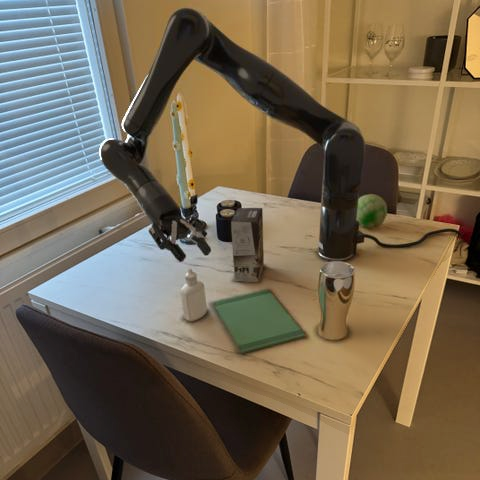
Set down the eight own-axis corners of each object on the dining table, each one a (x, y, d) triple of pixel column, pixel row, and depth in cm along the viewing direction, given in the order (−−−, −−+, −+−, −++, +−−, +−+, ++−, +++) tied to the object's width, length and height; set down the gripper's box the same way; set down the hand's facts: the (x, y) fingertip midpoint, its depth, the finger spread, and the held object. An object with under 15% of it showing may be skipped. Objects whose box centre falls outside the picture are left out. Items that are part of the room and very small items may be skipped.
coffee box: (259, 282, 115) (257, 222, 106) (233, 281, 116) (229, 221, 107) (264, 265, 122) (263, 207, 113) (241, 264, 123) (237, 206, 114)
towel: (268, 290, 112) (268, 288, 111) (304, 336, 96) (305, 334, 96) (213, 303, 108) (212, 301, 108) (241, 353, 93) (241, 351, 92)
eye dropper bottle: (210, 317, 103) (205, 270, 97) (186, 323, 102) (179, 276, 95) (205, 307, 107) (199, 261, 100) (181, 313, 106) (174, 267, 99)
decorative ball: (370, 218, 143) (374, 186, 138) (391, 230, 136) (396, 197, 130) (344, 225, 140) (346, 193, 135) (364, 237, 133) (367, 204, 127)
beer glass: (312, 323, 100) (315, 261, 91) (344, 320, 100) (350, 258, 91) (319, 343, 94) (323, 279, 85) (353, 339, 94) (360, 276, 86)
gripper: (141, 195, 103) (182, 251, 99) (185, 191, 113) (224, 241, 110) (128, 219, 107) (167, 272, 104) (172, 212, 118) (208, 261, 115)
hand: (196, 256), depth 107 cm, fingers open, 8 cm apart
